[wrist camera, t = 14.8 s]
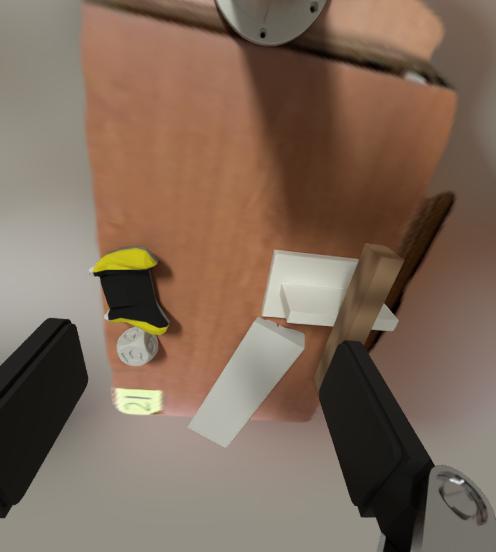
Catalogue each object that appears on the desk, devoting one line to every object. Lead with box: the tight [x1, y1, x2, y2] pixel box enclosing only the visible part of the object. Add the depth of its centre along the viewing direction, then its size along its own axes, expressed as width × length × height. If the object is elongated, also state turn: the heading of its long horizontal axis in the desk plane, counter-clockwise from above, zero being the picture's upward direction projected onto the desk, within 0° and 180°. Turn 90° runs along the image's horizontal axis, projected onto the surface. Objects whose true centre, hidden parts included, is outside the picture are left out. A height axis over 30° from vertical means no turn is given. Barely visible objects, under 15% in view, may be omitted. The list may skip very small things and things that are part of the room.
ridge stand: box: [262, 250, 399, 331], centre depth 41 cm, size 12×20×9 cm, turn 82°
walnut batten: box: [313, 243, 404, 397], centre depth 35 cm, size 24×3×4 cm, turn 172°
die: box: [117, 327, 158, 366], centre depth 46 cm, size 5×5×5 cm
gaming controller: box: [89, 246, 170, 335], centre depth 40 cm, size 15×6×10 cm
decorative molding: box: [188, 317, 305, 448], centre depth 55 cm, size 34×5×10 cm
